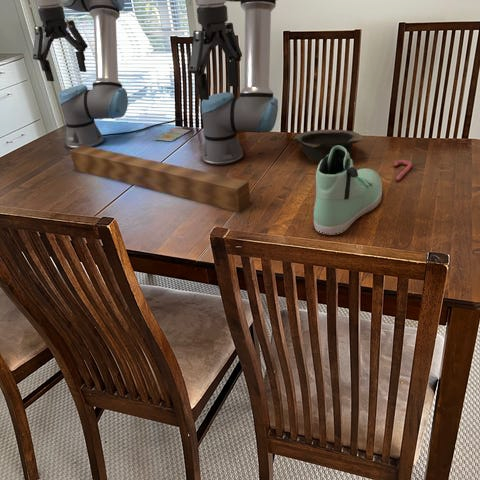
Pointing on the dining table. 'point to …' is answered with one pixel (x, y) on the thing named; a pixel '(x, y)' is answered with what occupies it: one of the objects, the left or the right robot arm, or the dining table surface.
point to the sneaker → (343, 192)
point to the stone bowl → (325, 142)
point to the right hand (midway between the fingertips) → (219, 92)
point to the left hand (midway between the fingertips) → (67, 76)
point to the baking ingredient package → (172, 134)
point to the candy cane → (404, 169)
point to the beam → (164, 177)
